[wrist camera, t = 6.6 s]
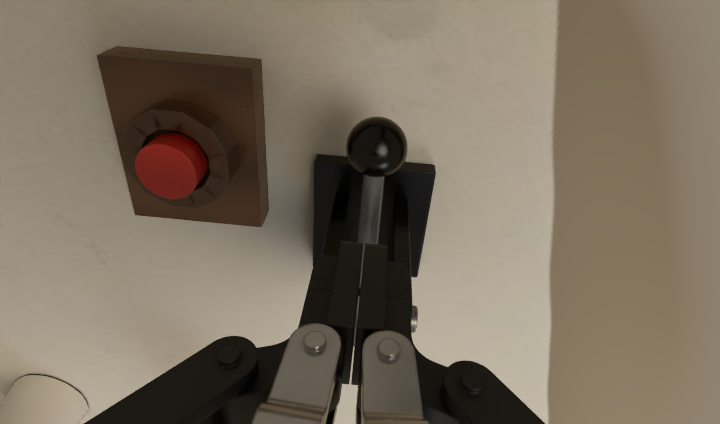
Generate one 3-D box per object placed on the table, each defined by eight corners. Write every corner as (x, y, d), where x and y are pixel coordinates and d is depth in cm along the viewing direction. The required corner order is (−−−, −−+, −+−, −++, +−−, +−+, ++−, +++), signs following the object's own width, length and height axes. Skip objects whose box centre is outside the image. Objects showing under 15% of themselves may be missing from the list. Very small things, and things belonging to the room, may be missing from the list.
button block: (116, 46, 28) (77, 63, 24) (261, 59, 28) (242, 77, 24) (149, 199, 34) (121, 229, 30) (268, 210, 34) (254, 242, 30)
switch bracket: (316, 153, 31) (278, 263, 21) (434, 164, 31) (452, 280, 21) (315, 257, 36) (283, 386, 26) (416, 267, 35) (424, 401, 26)
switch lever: (350, 117, 25) (347, 110, 22) (408, 122, 25) (412, 116, 22) (332, 325, 27) (326, 347, 23) (386, 330, 26) (388, 353, 23)
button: (143, 129, 27) (128, 141, 25) (203, 134, 27) (192, 147, 25) (154, 182, 29) (140, 196, 27) (210, 187, 29) (200, 202, 27)
